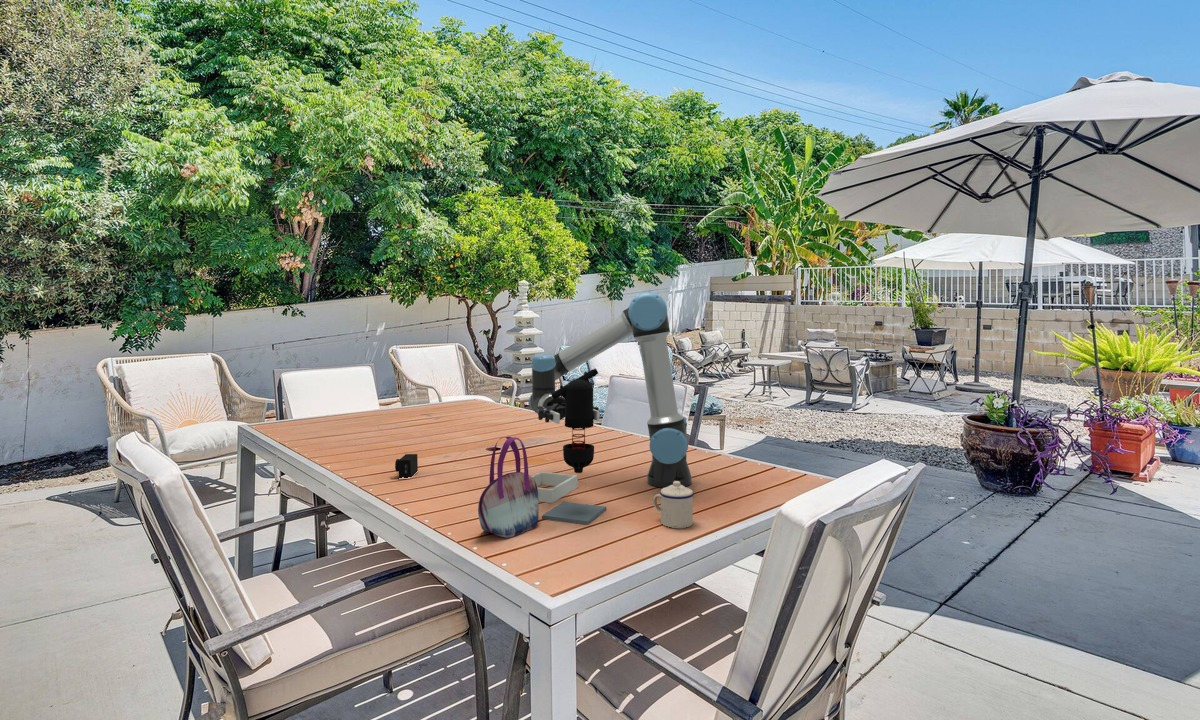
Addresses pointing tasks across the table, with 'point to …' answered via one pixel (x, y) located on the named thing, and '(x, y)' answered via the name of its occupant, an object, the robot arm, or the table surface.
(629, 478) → the table surface
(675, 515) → the teacup with lid
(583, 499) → the table surface
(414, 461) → the digital camera
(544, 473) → the white open rectangular box
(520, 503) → the handbag
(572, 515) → the slate mat
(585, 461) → the filter
